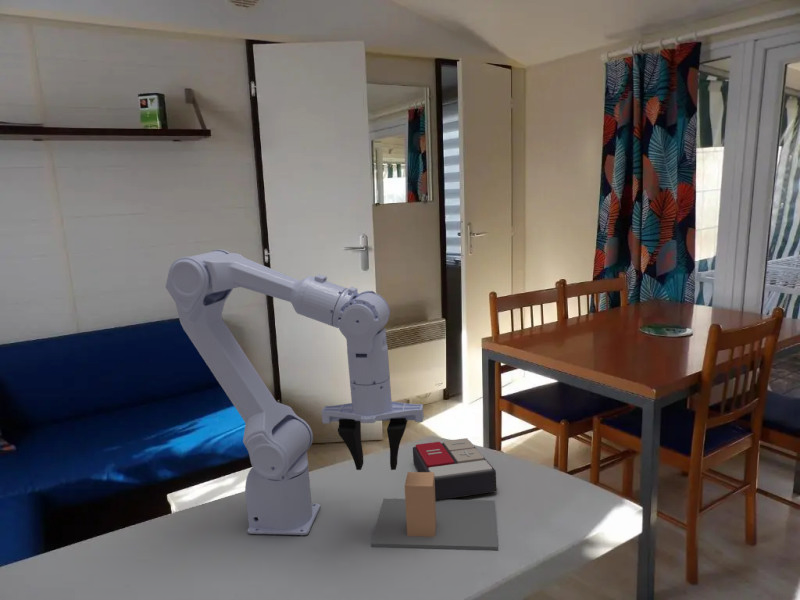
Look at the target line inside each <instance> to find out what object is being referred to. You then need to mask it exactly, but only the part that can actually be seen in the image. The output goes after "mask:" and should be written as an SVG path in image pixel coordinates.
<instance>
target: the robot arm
mask: <svg viewBox="0 0 800 600" xmlns="http://www.w3.org/2000/svg"><path fill="white" fill-rule="evenodd" d="M327 279H328V277H327V276H326V275H324V274H320V273H319V274H317V275H315V276H313V275H308V276H306V277H305V278H302V279H301V280H299V279H297V278H294V277H292V276H289V275H287V274H285V273H282V272H280V271H277V270H275V269H273V268H270V267H268V266H265V265H263V264H261V263H258V262H256V261H254V260H251V259H249V258H246V257H245V256H243V255H242V254H240V253H236V252H230V251H227V250H225V249H220V248H219V249H217V248H216V249H214V250H213V249H212V251H209V252H205V253H200V254H195V255H191V256H182V257H178V258H177V259H176V260H174V261H173V263H171V265H170V267H169V269H168V274H167V279H166V283H165V289H166V290H167V292H168V293H169V295H170V297H171V298H172V300H173V301H174V302H175V306H176V309H177V314H178V319H179V322H180V325H181V326H182V329H183V331H184V332H185V333H186V335H187V336H188V338H189V340H190V341H191V343H192V344H193V346H194V347H195V348H196V350H197V352H198V353H199V355H200V356H201V358H202V359H203V361H204V362H205V364H206V366H208V368H209V370H210V372H211V373H212V374H213V377H214V378H215V379H216V381H217V383H218V384H219V386H221V388H222V390H223V391H224V392H225V394H226V396H227V398H228V399H229V400H230V401H231V403H232V405H233V406H234V408H235V410H236V411H237V413H238V414H239V415H240V417H241V418H242V420H243V421H244V423H245V424H244V425H245V426H244V433H243V439H242V442H243V444H244V445H243V446H245V448H246V450H247V452H248V455H249V460H250V464H251V466H252V467H251V468H250V470H249V471H248V474H247V475H246V480H245V486H244V487H245V489H244V492H245V493H244V494H245V502H246V511H247V519H248V521H247V522H248V528H247V530H246V531H247V534H250V535H252V534H255V535H285V536H287V535H291V536H294V535H295V536H306V535H308V534H309V533H310V530H311V528H312V526H313V524H314V521H315V519H316V518H317V515H318V513H319V511H320V509H321V504H320V503H312V492H311V481H310V479H311V478H310V470H309V461H308V453H307V452H308V450H309V449H310V447H311V446H312V444H313V441H314V439H313V438H314V435H313V430H312V429H311V426H310V425H309V424H308V422H307V421H305V419H303V418H302V417H299V416H298V415H297V414H296V413H295V411H294V409H293V408H292V407H291V406H289V405H286V404H284V403H280V402H278V401H277V400H276V399H275V397H274V396H273V394H272V393H271V391H270V389H269V388H268V387H267V385H266V384H265V382H264V381H263V379H262V378H261V376H260V374H259V373H258V372H257V370H256V369H255V367H254V365H253V364H252V363H251V361H250V359H249V357H248V356H247V355H246V353H245V352H244V350H243V348H242V347H241V345H240V344H239V343H238V341H237V339H236V338H235V336H234V335H233V333H232V332H231V331H230V329H229V327H228V326H227V324H226V322H225V321H224V320H223V317H222V315H223V311H224V306H225V303H226V301H227V299H228V298H229V297H230V294H231V293H232V291H233V289H236V288H242V289H246V290H250V291H252V292H256V293H259V294H263V295H265V296H270V297H273V298H276V299H279V300H283V301H286V302H288V303H290V304H291V306H292V307H293V309H294V311H295V313H296V314H297V315H300V316H304V317H306V318H309V319H312V320H315V321H317V322H320V323H322V324H325V325H328V326H331V327H333V328H337V329H339V331H340V333H341V335H343V337H344V338H345V340H346V353H347V363H348V365H347V366H348V376H349V386H350V387H349V388H350V398H351V402H349V403H343V404H336V405H325V406H324V407H323V408H322V409H321V420H322V421H321V422H322V424H330V423H331V422H338V428H337V432H338V433H337V434H338V436H340V438H341V439H342V441H343V442H344V443H345V446H346V447H347V449H348V450H349V453H350V455H351V457H352V461H353V463H354V465H355V469H356V471H362V469H363V466H364V451H363V445H362V430H361V429H362V426H361V424H375V423H376V422H378V421H379V422H382V421H383V422H388V421H389V422H388V426H387V427H386V433H387V438H388V445H389V464H390V465H389V466H390V470H391V471H395V470H397V467H398V456H399V455H398V454H399V450H400V444H401V441H402V439H403V436H404V433H405V430H406V428H407V424H408V421H414V422H415V423H423V422H424V404H423V403H422V404H421V403H420V404H419V403H409V402H408V403H406V402H398V401H392V391H391V377H390V374H391V373H390V363H389V362H390V360H389V346H388V343H387V342H388V341H387V329H386V327H385V326H386V324H387V323H388V321H389V319H390V314H391V310H390V306H389V303H388V301H386V299H385V298H384V297H383V296H382V295H380V294H379V293H376V292H375V291H374V290H364V291H362V292H360V293H359V292H358V291H359V290H358V288H357V287H354V286H350V287H349V288H348V287H345V286H342V285H338V284H336V283H333V282H330V281H329V280H328V281H327Z"/></svg>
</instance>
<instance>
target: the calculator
mask: <svg viewBox="0 0 800 600" xmlns="http://www.w3.org/2000/svg"><path fill="white" fill-rule="evenodd" d="M412 461H413V463H414V466H415V468H416V470H417V472H434V478H435V500H449V499H453V498H460V497H467V496H473V495H474V496H475V495H482V494H488V493H495V492H496V491H497V470H496V469H495V468H494V467H493V466H492V464H491V463H489V461H488V460H487V459H486V458H485V457H484V455H483V454H482V453H481V452H480V451H479V450H478V448H477V447H476V446H475V445H474V444H473V443H472V442H471V441H470V440H469V438H459V439H449V440H443V442H440V441H435V442H426V443H418V444H415V446H413V447H412Z"/></svg>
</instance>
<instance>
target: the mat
mask: <svg viewBox="0 0 800 600" xmlns="http://www.w3.org/2000/svg"><path fill="white" fill-rule="evenodd" d="M435 501H436V530H435V537H424V536H407V520H406V502H405V498H383V499H382V503H381V506H380V510H379V513H378V515H377V516H378V518H377V521H376V524H375V526H374V528H375V529H374V532H373V536H372V539H371V542H370V546H371V547H372V548H374V547H375V548H377V547H378V548H403V549H404V548H406V549H407V548H408V549H411V548H412V549H439V550H440V549H441V550H442V549H445V550H476V551H478V550H479V551H480V550H484V551H485V550H486V551H499V545H498V544H499V543H498V530H497V517H496V514H497V511H496V501H495V500H494V499H493V500H491V499H441V500H435Z"/></svg>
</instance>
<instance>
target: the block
mask: <svg viewBox="0 0 800 600" xmlns="http://www.w3.org/2000/svg"><path fill="white" fill-rule="evenodd" d="M404 496H405V497H404V499H405V502H406V520H407V536H424V537H435V530H436V501H435V478H434V472H419V471H417V472H416V471H414V472H413V471H407V474H406V477H405V482H404Z"/></svg>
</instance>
